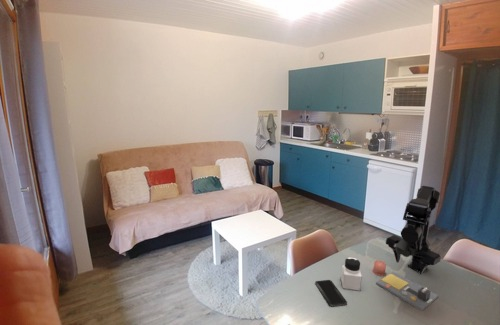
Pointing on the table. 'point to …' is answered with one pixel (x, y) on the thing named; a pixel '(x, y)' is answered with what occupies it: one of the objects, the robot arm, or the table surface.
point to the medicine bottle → (351, 274)
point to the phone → (330, 293)
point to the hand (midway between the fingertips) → (408, 267)
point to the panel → (405, 290)
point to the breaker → (424, 293)
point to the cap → (379, 268)
